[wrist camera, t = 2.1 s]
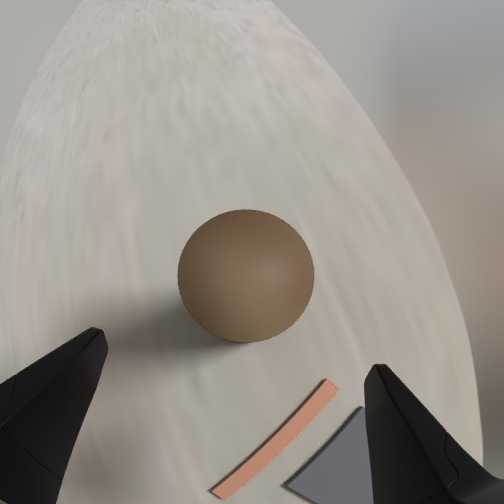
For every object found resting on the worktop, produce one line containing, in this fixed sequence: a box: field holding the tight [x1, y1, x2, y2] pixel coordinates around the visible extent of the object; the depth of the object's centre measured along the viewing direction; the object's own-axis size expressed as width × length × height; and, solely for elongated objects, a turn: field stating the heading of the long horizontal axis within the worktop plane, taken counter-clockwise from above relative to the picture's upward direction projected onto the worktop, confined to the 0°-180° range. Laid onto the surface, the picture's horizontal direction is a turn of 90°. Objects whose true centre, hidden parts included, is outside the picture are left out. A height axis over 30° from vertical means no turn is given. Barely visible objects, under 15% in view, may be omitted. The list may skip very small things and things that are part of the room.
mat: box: [287, 406, 373, 504], centre depth 16 cm, size 8×10×1 cm
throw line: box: [212, 379, 339, 500], centre depth 17 cm, size 12×1×1 cm, turn 138°
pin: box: [178, 210, 314, 342], centre depth 15 cm, size 4×4×11 cm
